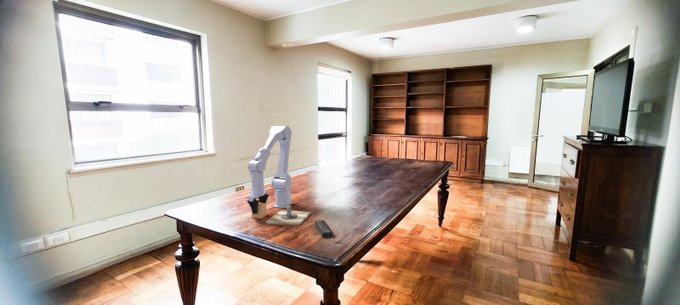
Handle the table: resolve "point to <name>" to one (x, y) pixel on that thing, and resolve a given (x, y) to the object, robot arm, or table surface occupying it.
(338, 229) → the table surface
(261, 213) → the collar
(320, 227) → the multiport hub
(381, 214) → the table surface
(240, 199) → the table surface
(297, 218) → the post board
